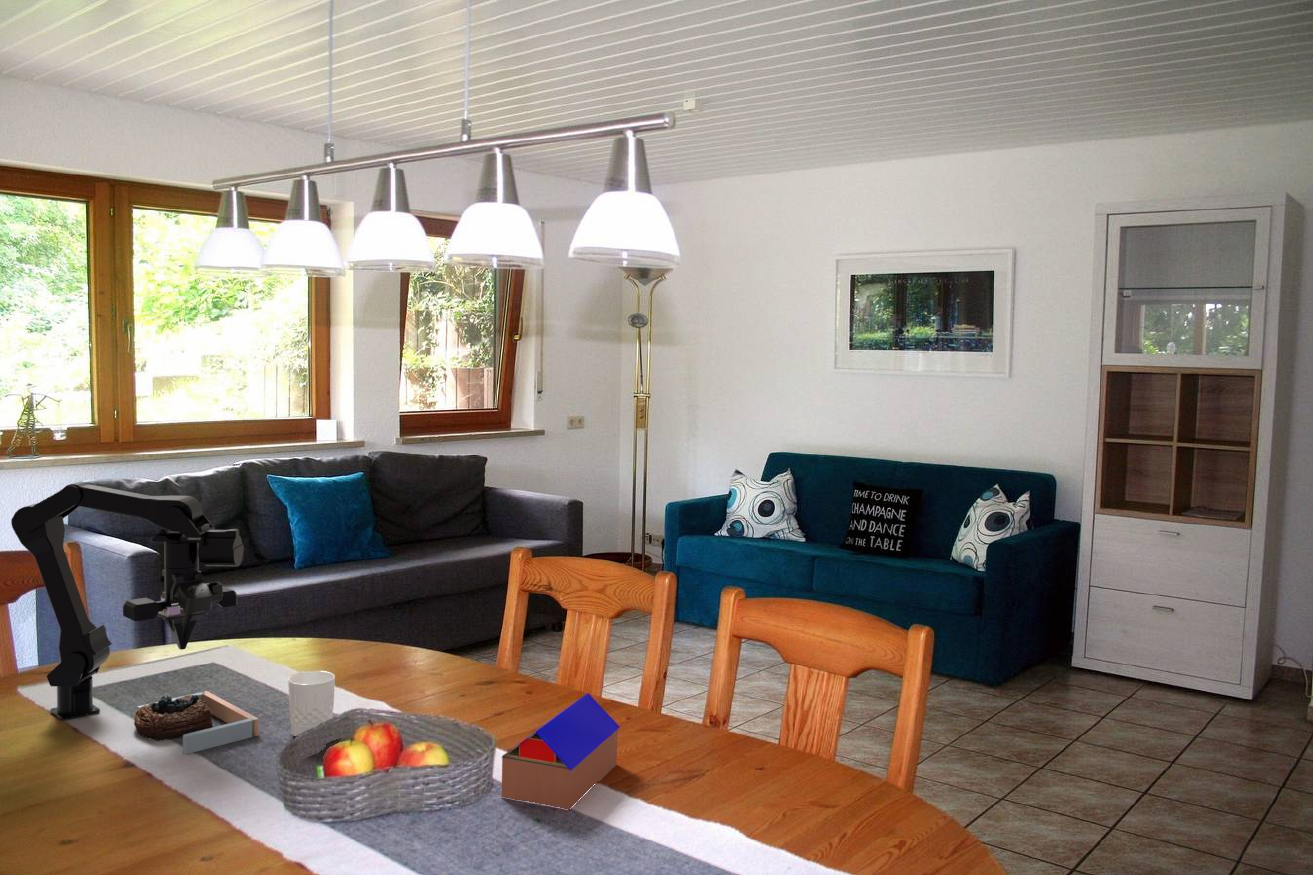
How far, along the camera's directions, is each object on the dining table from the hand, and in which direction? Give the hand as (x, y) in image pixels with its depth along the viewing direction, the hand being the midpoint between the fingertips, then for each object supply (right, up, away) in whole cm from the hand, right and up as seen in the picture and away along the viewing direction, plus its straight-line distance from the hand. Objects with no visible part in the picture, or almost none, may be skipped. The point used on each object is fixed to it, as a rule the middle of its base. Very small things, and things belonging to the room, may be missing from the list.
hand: (182, 648), depth 191 cm
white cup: (+26, -14, -7) cm, 30 cm away
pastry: (+2, -13, -7) cm, 15 cm away
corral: (+6, -13, -7) cm, 16 cm away
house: (+72, -17, -25) cm, 78 cm away
